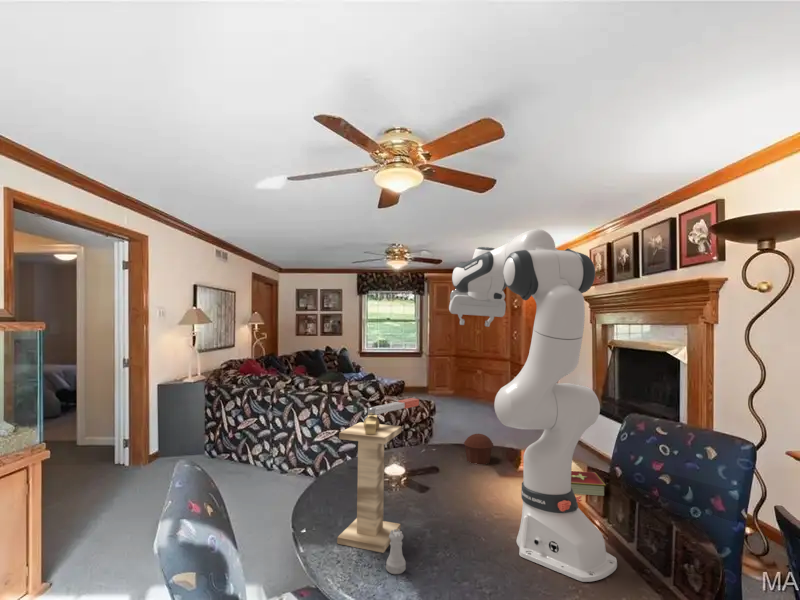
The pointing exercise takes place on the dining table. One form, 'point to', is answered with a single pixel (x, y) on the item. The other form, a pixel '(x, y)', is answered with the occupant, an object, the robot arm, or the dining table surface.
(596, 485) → the hardcover book
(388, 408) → the valve lever
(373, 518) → the stand
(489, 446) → the muffin
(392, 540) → the rook chess piece
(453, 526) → the dining table surface
